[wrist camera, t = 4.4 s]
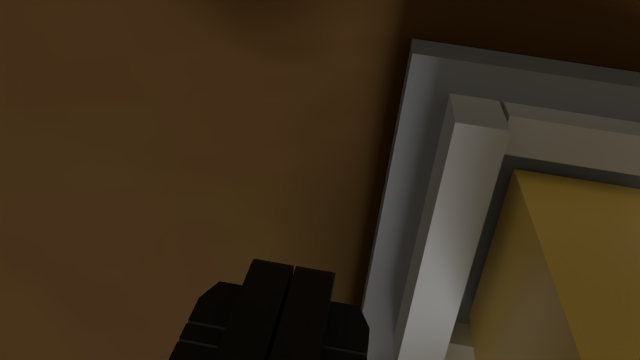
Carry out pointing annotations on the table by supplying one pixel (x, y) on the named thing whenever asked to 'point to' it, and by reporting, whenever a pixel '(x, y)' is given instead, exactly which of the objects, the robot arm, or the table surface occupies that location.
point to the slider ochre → (561, 273)
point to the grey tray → (479, 178)
